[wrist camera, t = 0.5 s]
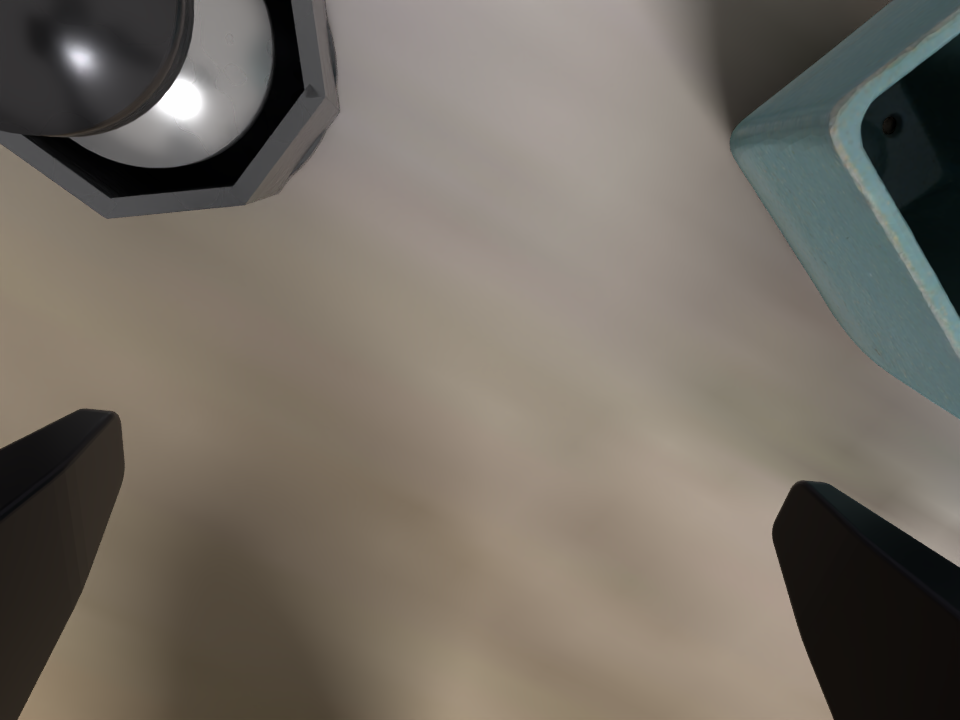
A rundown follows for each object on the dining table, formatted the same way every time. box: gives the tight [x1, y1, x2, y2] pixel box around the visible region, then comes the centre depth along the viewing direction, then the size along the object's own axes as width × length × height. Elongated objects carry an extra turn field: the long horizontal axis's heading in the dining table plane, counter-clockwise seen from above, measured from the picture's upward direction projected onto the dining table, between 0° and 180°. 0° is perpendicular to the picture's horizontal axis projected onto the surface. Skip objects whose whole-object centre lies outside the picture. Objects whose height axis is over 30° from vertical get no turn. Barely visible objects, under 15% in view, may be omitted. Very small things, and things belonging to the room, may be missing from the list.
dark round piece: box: [0, 0, 276, 168], centre depth 12 cm, size 5×5×6 cm
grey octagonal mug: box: [0, 0, 340, 219], centre depth 16 cm, size 7×10×5 cm
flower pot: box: [730, 0, 960, 419], centre depth 17 cm, size 9×9×9 cm
